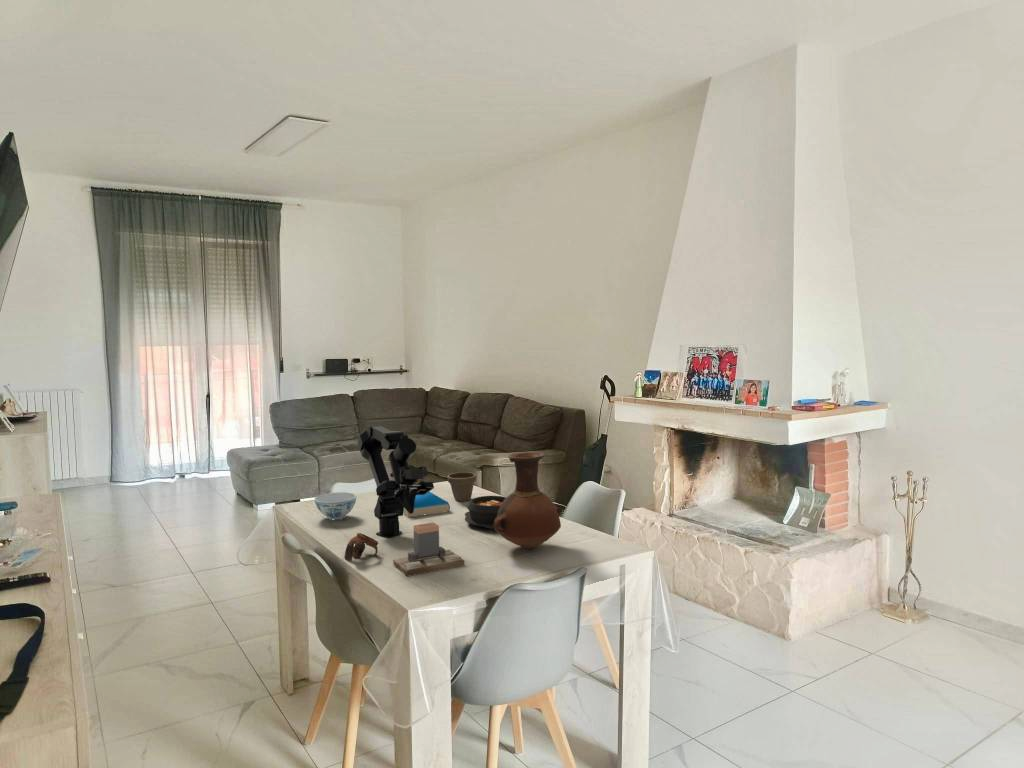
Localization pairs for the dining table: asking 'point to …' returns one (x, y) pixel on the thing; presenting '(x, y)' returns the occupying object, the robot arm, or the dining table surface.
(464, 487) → the flower pot
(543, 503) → the vase
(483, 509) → the casserole
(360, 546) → the brown curved piece
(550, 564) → the dining table surface
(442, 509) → the book
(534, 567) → the dining table surface
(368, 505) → the dining table surface
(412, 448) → the robot arm
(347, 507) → the chinaware
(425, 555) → the grey block
